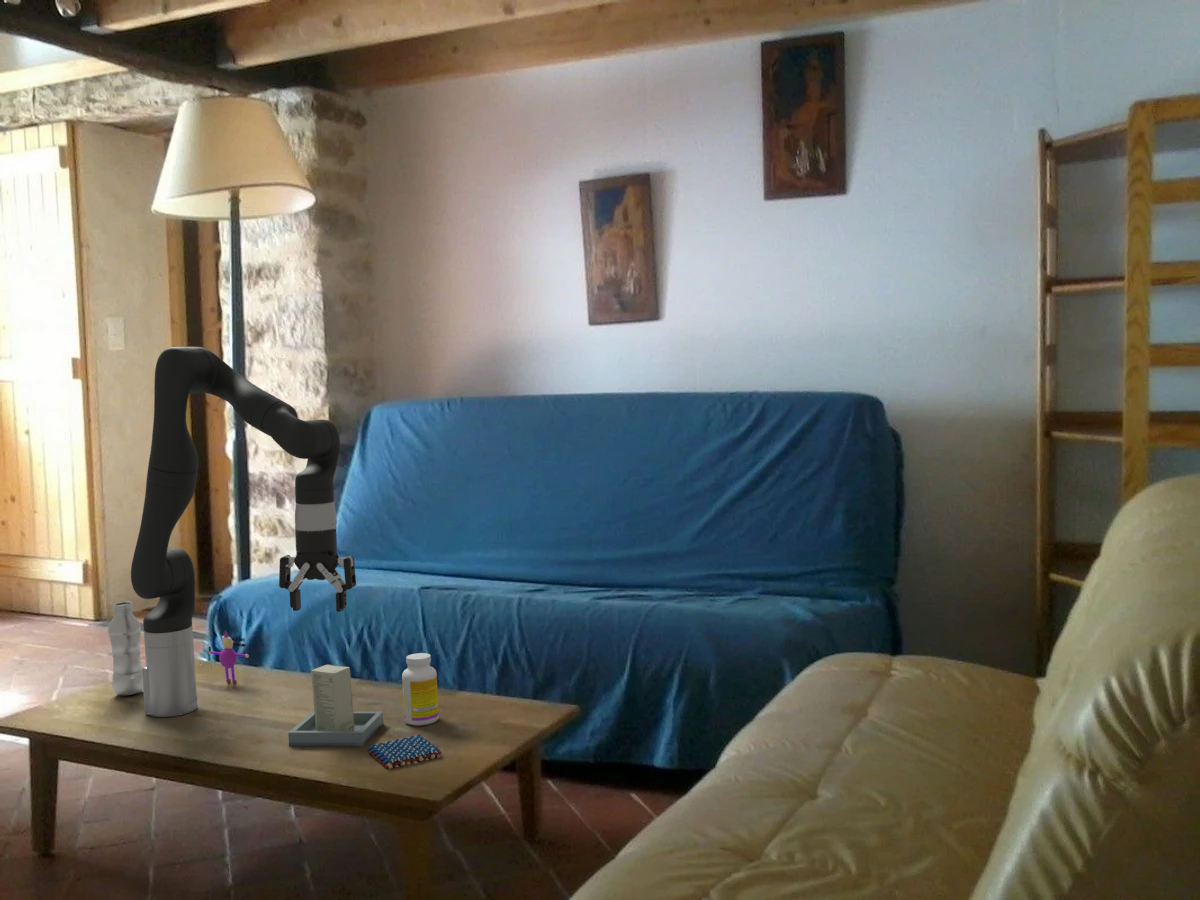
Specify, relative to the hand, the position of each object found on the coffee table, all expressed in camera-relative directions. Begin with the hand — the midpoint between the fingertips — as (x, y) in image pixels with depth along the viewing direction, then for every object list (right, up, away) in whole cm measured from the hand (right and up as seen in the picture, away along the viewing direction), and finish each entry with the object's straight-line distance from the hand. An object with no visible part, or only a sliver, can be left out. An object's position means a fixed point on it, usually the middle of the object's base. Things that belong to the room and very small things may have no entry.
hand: (318, 610), depth 204 cm
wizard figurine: (-29, -22, +35) cm, 51 cm away
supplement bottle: (+19, -22, +5) cm, 30 cm away
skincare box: (+3, -23, -2) cm, 23 cm away
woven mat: (+19, -24, -13) cm, 33 cm away
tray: (+4, -23, -2) cm, 23 cm away
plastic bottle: (-49, -23, +30) cm, 62 cm away
